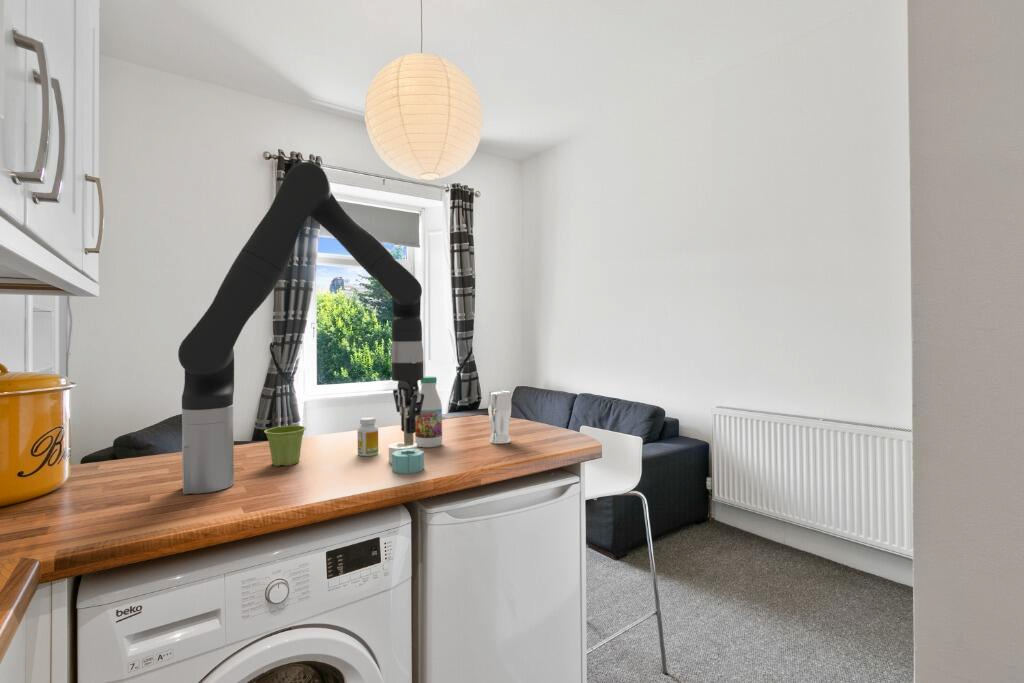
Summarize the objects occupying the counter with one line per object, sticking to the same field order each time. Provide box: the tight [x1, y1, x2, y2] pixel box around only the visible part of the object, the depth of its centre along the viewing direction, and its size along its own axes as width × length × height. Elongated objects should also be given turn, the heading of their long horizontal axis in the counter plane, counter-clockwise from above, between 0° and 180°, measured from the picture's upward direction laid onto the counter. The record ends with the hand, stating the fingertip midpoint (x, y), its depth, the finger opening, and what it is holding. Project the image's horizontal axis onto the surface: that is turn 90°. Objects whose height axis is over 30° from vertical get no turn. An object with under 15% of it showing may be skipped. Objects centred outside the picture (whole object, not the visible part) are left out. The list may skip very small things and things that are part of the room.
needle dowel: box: [403, 403, 415, 445], centre depth 116 cm, size 2×2×11 cm
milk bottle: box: [414, 375, 443, 448], centre depth 141 cm, size 8×8×20 cm
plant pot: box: [263, 425, 306, 467], centre depth 121 cm, size 9×9×9 cm
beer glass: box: [487, 390, 512, 445], centre depth 144 cm, size 7×7×15 cm
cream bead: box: [388, 441, 418, 465], centre depth 124 cm, size 7×7×4 cm
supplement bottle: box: [357, 416, 379, 457], centre depth 130 cm, size 5×5×10 cm
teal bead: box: [391, 448, 425, 474], centre depth 116 cm, size 7×7×4 cm
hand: (408, 431), depth 116 cm, fingers closed on needle dowel, 2 cm apart
